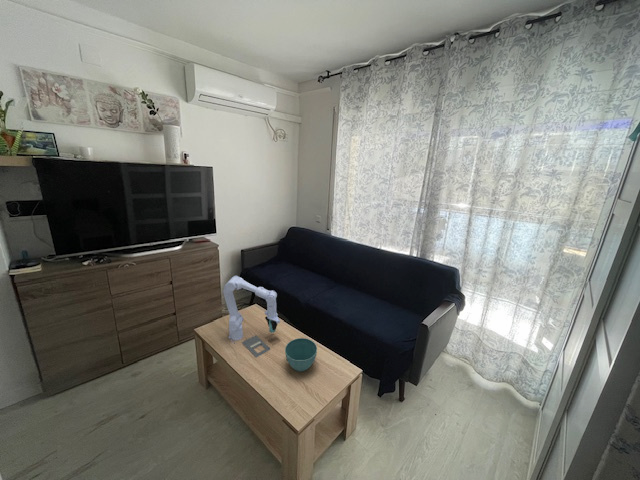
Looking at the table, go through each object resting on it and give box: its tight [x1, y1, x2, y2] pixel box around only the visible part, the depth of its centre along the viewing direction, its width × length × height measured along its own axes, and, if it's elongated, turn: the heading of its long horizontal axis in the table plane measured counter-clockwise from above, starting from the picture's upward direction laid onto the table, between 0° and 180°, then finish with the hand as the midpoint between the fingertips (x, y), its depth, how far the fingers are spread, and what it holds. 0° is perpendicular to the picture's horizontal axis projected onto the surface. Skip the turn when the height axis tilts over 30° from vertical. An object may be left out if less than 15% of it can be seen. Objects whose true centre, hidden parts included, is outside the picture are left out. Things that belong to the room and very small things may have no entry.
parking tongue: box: [264, 333, 282, 347], centre depth 163 cm, size 10×7×2 cm
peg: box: [268, 319, 277, 334], centre depth 160 cm, size 4×4×8 cm
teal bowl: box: [284, 337, 318, 372], centre depth 142 cm, size 18×18×12 cm
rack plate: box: [241, 334, 271, 358], centre depth 156 cm, size 17×10×3 cm, turn 45°
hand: (272, 327), depth 160 cm, fingers closed on peg, 4 cm apart
